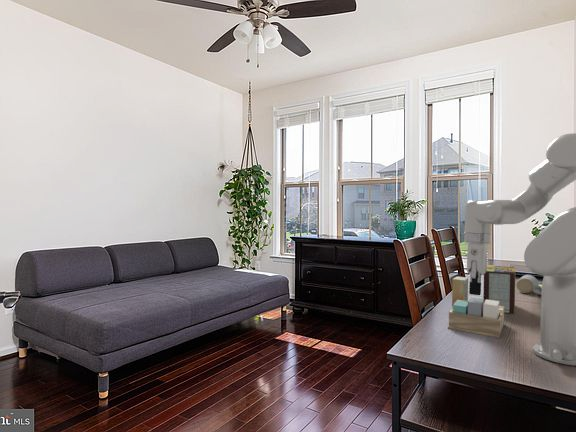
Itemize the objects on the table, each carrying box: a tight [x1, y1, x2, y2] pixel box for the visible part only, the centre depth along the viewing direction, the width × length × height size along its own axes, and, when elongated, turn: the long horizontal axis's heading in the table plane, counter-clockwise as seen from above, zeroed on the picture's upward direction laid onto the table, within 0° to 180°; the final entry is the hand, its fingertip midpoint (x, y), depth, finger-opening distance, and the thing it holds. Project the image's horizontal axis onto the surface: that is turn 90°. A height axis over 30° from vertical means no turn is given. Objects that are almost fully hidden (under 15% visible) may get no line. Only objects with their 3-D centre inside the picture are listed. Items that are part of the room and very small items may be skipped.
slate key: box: [468, 296, 484, 317], centre depth 119 cm, size 7×4×5 cm, turn 145°
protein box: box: [482, 264, 516, 315], centre depth 143 cm, size 10×15×16 cm
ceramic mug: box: [515, 274, 542, 296], centre depth 168 cm, size 11×8×8 cm
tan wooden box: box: [447, 300, 505, 339], centre depth 121 cm, size 16×15×6 cm
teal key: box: [453, 301, 468, 315], centre depth 122 cm, size 7×4×5 cm, turn 145°
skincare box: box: [451, 276, 469, 309], centre depth 140 cm, size 6×4×12 cm
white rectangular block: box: [483, 299, 499, 319], centre depth 116 cm, size 7×4×5 cm, turn 145°
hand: (474, 294), depth 119 cm, fingers closed
